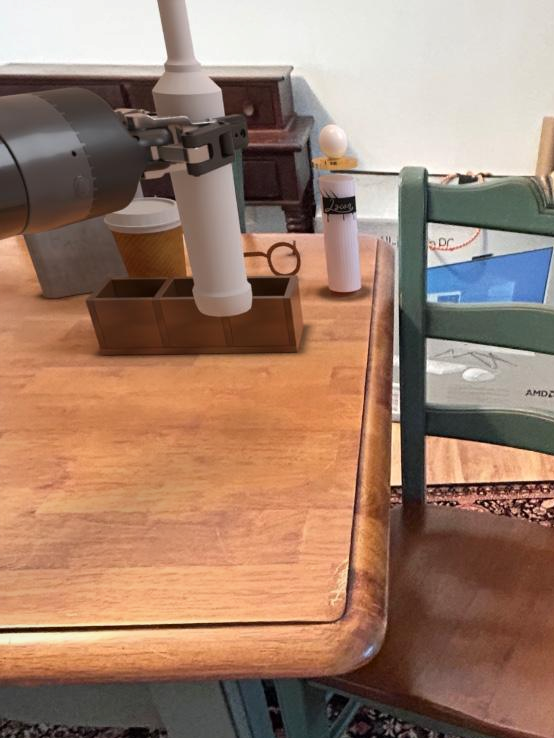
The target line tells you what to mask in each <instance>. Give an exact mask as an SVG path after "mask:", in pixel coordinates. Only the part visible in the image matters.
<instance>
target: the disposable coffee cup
mask: <svg viewBox="0 0 554 738" xmlns="http://www.w3.org/2000/svg"><path fill="white" fill-rule="evenodd" d="M104 222H105V223H106V224H107V225H108V228H109V229H110V230H111V232H112V234H113V237H114V239H115V242H116V244H117V247H118V249H119V252H120V254H121V257H122V260H123V262H124V264H125V267H126V270H127V272H128V275H129V277H177V276H188V274H187V265H186V264H187V263H186V255H185V244H184V243H185V241H184V235H183V230H182V226H181V221H180V216H179V212H178V207H177V203H176V200H173V199H171V198H166V197H151V196H150V197H144V198H134V199H133V200H132V202H131V203H130V204H129V205H128V206H127V207H126V208H124V209H122V210H120V211H117V212H113V213H110V214H106V217H105V218H104Z"/></svg>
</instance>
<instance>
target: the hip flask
mask: <svg viewBox="0 0 554 738" xmlns="http://www.w3.org/2000/svg"><path fill="white" fill-rule="evenodd" d="M134 198H145V197H144V192H143V189H142V184H141V180H140V181H139V184H138V188H137V192H136V195H135V197H134ZM105 217H106V215H103V216H99V217H96V218H92V219H89V220H86V221H82V222H79V223H75V224H72V225H68V226H65V227H61V228H58V229H54V230H50V231H46V232H40V233H31V234H22V237H23V240H24V242H25V245H26V248H27V251H28V255H29V257H30V260H31V263H32V266H33V268H34V272H35V274H36V277H37V280H38V283H39V286H40V289H41V292H42V294H43V297H44V298H46V299H60V298H65V297H70V296H76V295H82V294H83V295H84V294H92V293H93V292H94V290H95V289H96V288H97V287H98V286H99V285H100V284H101V283H102V282H103V281H104V280H105V279H106V277H129V275H128V272H127V270H126V267H125V264H124V262H123V260H122V257H121V254H120V252H119V249H118V247H117V244H116V242H115V239H114V237H113V234H112V232H111V230H110V229H109V228H108V225H107V224H106V223H105V222H104V218H105Z"/></svg>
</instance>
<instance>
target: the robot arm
mask: <svg viewBox="0 0 554 738" xmlns="http://www.w3.org/2000/svg"><path fill="white" fill-rule="evenodd" d="M172 125H173V126H174V127H175V130H176V135H177V140H178V144H175V143H174V138H173V134H172V132H171V130H170V129H169V128H168V126H172ZM249 144H250V137H249V129H248V122H247V119H246V116H245V115H243V114H237V113H234V114H229V115H228V114H227V115H225V116H223V117H218V118H213V119H212V118H211V117H207V118H205V119H202V120H192V121H190V119H189V118H188V117H186V116H183V115H179V114H170V115H159V116H157V112H156V111H152V112H150V111H148V110H145V109H137V108H121V107H120V108H119V107H118V108H114V109H113V108H112V107H111V106H110V105H109V103H108V102H107V101H105V100H104V98H102V97H101V96H99V95H98V94H96V93H94V92H93V91H91V90H89V89H86V88H83V87H77V86H74V87H73V86H72V87H63V88H57V89H49V90H42V91H33V92H26V93H19V94H17V93H16V94H10V95H3V96H0V241H3V240H6V239H9V238H13V237H17V236H23V234H31V233H40V232H46V231H50V230H54V229H58V228H61V227H65V226H68V225H72V224H75V223H79V222H82V221H86V220H89V219H92V218H96V217H99V216H103V215H106V214H110V213H113V212H117V211H120V210H122V209H124V208H126V207H127V206H128V205H129V204H130V203H131V202H132V200H133V199H134V197H135V195H136V192H137V188H138V184H139V181H140V182H141V180H153V179H159V178H162V177H164V176H165V175H166V174H170V172H176V171H184V170H187V173H188V175H193V176H194V177H200V175H204V174H206V173H209V172H211V171H213V170H216V169H218V168H221V167H223V166H225V165H228V164H231V165H232V163H234V162H236V161H237V157H236V153H235V151H236V150H240V149H244V148H247V147H248V146H249Z"/></svg>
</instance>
